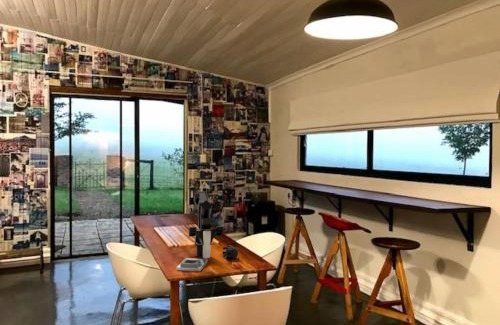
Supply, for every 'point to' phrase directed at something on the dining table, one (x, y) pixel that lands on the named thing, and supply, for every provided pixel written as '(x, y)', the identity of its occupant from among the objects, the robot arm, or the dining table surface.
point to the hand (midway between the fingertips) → (207, 244)
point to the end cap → (230, 252)
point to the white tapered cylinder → (206, 244)
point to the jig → (192, 264)
